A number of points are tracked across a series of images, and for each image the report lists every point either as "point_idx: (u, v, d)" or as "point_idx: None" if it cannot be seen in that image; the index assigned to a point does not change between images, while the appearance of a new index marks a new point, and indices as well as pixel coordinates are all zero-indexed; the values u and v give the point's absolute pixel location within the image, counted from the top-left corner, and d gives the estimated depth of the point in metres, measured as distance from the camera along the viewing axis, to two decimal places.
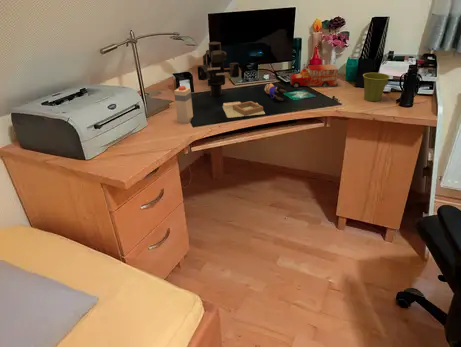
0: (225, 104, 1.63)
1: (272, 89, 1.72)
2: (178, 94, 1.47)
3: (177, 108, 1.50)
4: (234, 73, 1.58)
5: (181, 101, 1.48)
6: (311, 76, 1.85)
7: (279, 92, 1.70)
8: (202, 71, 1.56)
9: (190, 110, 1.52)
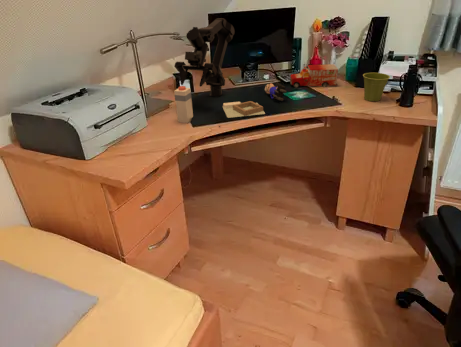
0: (225, 104, 1.63)
1: (272, 89, 1.72)
2: (178, 94, 1.47)
3: (177, 108, 1.50)
4: (209, 74, 1.54)
5: (181, 101, 1.48)
6: (311, 76, 1.85)
7: (279, 92, 1.70)
8: None
9: (190, 110, 1.52)
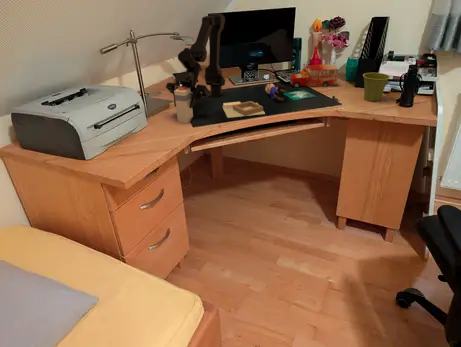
0: (225, 104, 1.63)
1: (273, 89, 1.72)
2: (178, 94, 1.47)
3: (177, 108, 1.50)
4: (199, 95, 1.51)
5: (181, 101, 1.48)
6: (311, 76, 1.85)
7: (279, 92, 1.70)
8: None
9: (190, 110, 1.52)
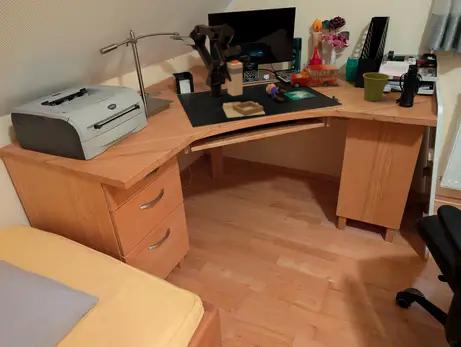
0: (225, 104, 1.63)
1: (273, 89, 1.72)
2: (236, 67, 1.54)
3: (233, 82, 1.57)
4: None
5: (238, 74, 1.56)
6: (312, 76, 1.85)
7: (280, 92, 1.70)
8: (221, 68, 1.56)
9: None
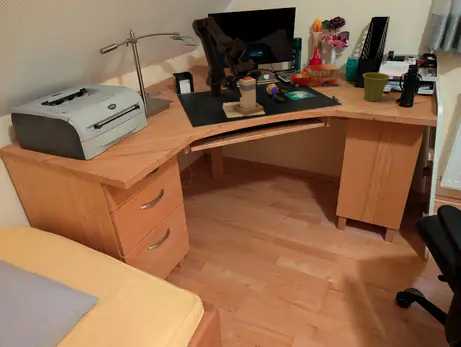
0: (225, 104, 1.63)
1: (274, 89, 1.72)
2: (249, 84, 1.51)
3: (247, 99, 1.54)
4: None
5: (251, 90, 1.53)
6: (312, 76, 1.85)
7: (280, 92, 1.70)
8: (231, 84, 1.52)
9: None
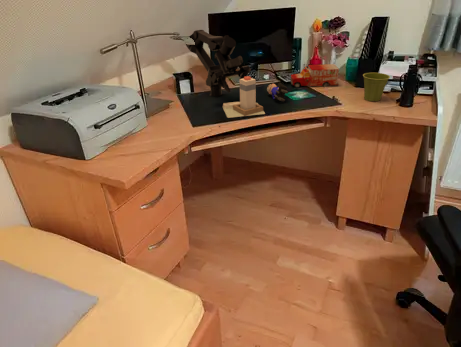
0: (225, 104, 1.63)
1: (274, 89, 1.72)
2: (249, 84, 1.51)
3: (247, 99, 1.54)
4: None
5: (251, 90, 1.53)
6: (312, 76, 1.85)
7: (281, 92, 1.70)
8: (220, 79, 1.58)
9: None
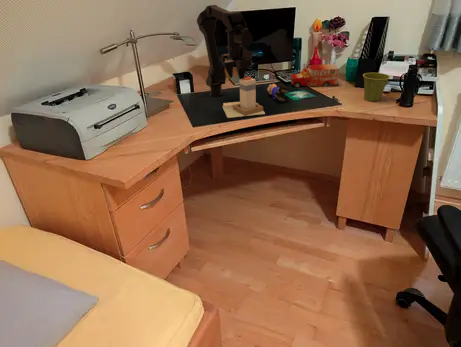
0: (225, 104, 1.63)
1: (274, 89, 1.72)
2: (249, 84, 1.51)
3: (247, 99, 1.54)
4: None
5: (251, 90, 1.53)
6: (312, 76, 1.85)
7: (281, 93, 1.69)
8: None
9: None
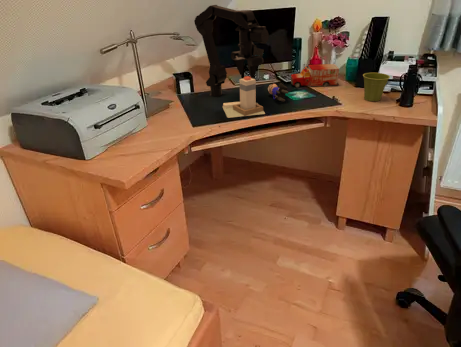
0: (225, 104, 1.63)
1: (274, 89, 1.72)
2: (249, 84, 1.51)
3: (247, 99, 1.54)
4: None
5: (251, 90, 1.53)
6: (312, 76, 1.86)
7: (281, 93, 1.69)
8: None
9: None
